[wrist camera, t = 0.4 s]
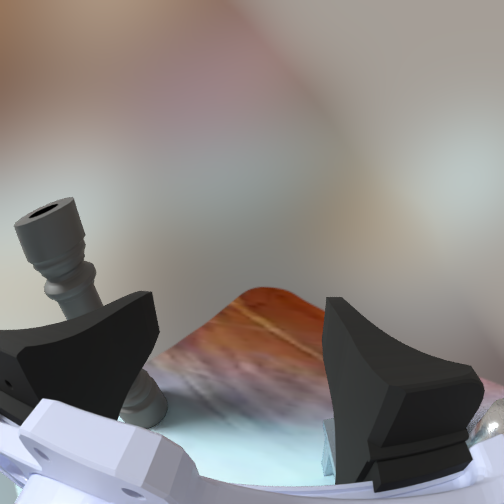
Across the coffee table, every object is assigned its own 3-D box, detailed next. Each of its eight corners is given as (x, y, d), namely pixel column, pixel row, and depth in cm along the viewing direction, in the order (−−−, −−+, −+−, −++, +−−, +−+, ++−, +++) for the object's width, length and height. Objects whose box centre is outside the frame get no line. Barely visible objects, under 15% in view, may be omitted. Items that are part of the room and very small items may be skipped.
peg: (489, 462, 15) (529, 422, 12) (460, 479, 15) (500, 444, 12) (476, 434, 19) (510, 391, 15) (447, 450, 19) (481, 409, 15)
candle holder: (176, 396, 32) (91, 192, 20) (152, 436, 27) (31, 226, 15) (137, 384, 34) (52, 200, 22) (113, 418, 29) (1, 229, 17)
